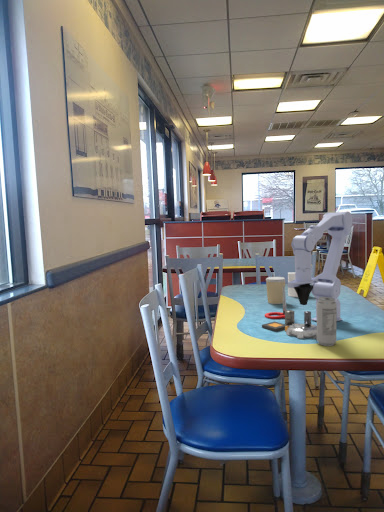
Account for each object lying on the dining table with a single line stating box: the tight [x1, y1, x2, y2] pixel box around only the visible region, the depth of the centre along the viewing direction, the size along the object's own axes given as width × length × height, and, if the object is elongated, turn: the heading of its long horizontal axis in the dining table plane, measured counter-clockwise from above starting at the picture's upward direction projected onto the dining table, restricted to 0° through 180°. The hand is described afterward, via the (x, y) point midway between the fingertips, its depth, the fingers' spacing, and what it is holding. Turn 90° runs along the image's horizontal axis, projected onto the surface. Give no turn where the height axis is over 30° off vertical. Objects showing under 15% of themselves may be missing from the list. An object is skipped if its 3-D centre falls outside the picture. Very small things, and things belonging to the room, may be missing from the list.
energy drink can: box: [316, 297, 337, 347], centre depth 120 cm, size 6×6×15 cm
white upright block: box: [287, 271, 298, 298], centre depth 195 cm, size 9×9×12 cm
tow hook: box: [264, 286, 288, 320], centre depth 155 cm, size 8×13×9 cm
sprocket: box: [284, 310, 317, 340], centre depth 132 cm, size 14×14×6 cm
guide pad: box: [261, 321, 290, 332], centre depth 140 cm, size 7×7×1 cm
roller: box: [284, 309, 295, 326], centre depth 144 cm, size 4×4×5 cm
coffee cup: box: [265, 276, 286, 305], centre depth 180 cm, size 9×9×12 cm
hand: (303, 304), depth 137 cm, fingers closed
